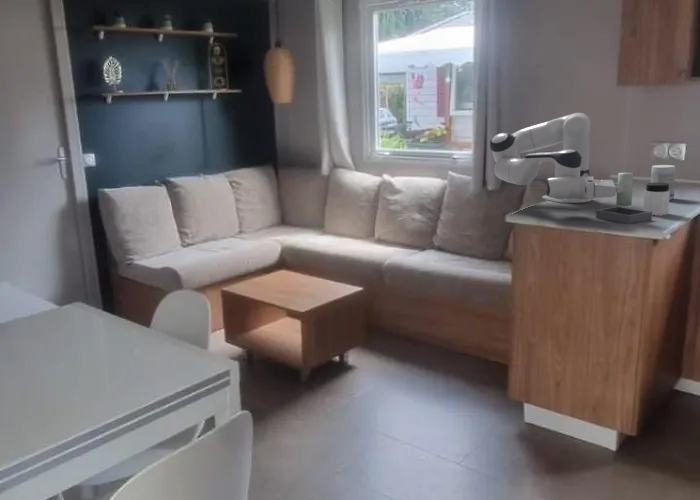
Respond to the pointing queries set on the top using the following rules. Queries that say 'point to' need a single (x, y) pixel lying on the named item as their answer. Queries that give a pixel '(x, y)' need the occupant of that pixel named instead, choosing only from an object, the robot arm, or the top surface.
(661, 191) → the jar
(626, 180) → the pale green cylinder
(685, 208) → the top surface
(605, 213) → the tray
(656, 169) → the supplement tub
